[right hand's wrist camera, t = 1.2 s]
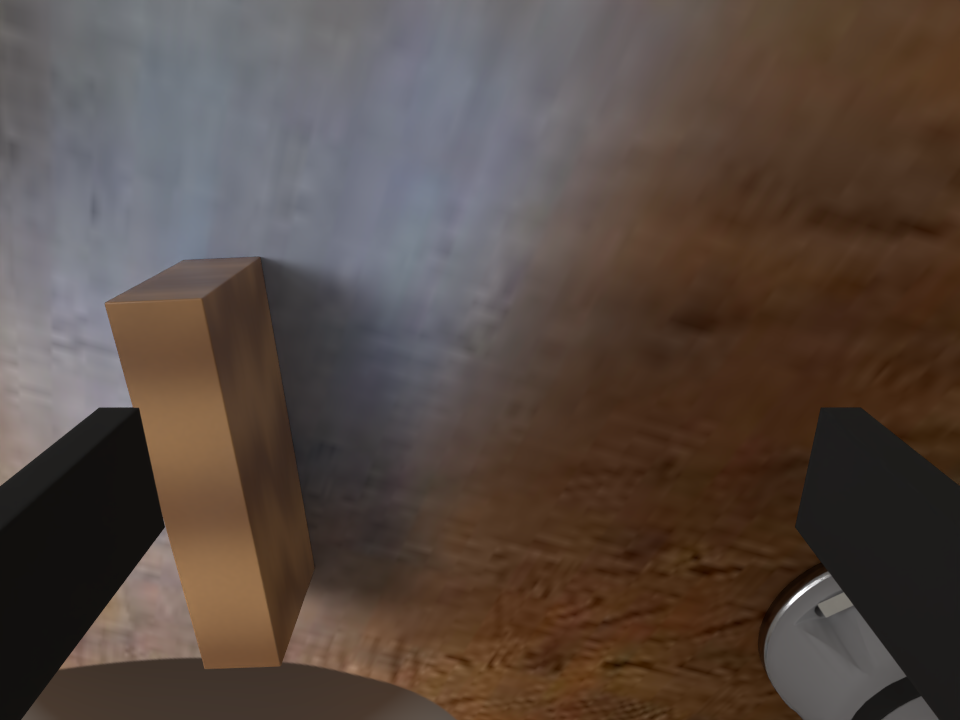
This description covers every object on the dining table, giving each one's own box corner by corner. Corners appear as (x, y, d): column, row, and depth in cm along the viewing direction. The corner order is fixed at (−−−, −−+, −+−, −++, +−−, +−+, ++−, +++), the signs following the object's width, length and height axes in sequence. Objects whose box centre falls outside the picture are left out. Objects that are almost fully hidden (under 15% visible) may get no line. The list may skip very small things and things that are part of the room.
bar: (315, 568, 46) (281, 667, 38) (251, 571, 46) (204, 669, 38) (260, 256, 38) (201, 298, 30) (183, 259, 38) (103, 302, 30)
